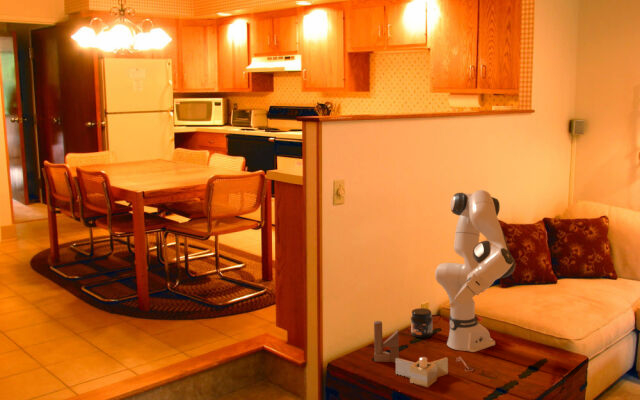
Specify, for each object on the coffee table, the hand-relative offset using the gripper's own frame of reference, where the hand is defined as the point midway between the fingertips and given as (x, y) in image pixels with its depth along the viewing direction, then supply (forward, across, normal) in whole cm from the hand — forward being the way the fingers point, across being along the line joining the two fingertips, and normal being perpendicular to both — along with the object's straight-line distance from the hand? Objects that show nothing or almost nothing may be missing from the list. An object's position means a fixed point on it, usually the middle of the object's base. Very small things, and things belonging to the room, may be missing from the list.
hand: (453, 302), depth 251 cm
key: (+24, -17, +24) cm, 38 cm away
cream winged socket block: (+34, 0, +14) cm, 36 cm away
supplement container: (+41, -45, +6) cm, 62 cm away
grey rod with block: (+46, -10, +1) cm, 47 cm away
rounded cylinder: (+32, +5, +16) cm, 36 cm away
